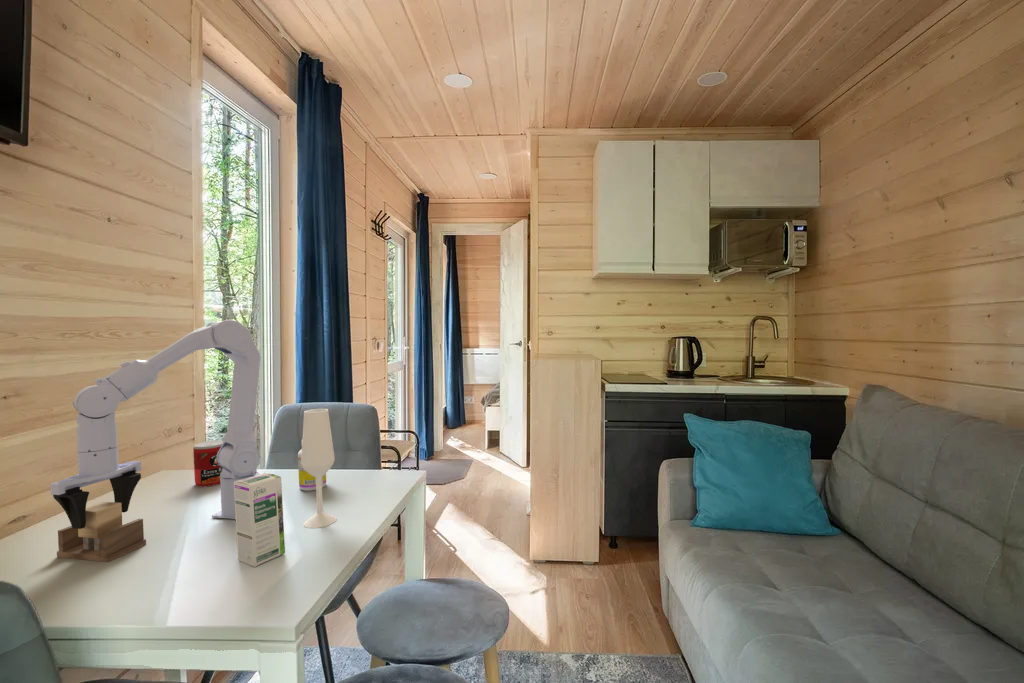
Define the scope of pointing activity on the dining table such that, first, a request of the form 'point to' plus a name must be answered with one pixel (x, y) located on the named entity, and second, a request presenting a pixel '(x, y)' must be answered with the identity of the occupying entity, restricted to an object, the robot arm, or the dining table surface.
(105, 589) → the dining table surface
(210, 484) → the canned food
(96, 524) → the light wooden block
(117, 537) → the stand
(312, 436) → the champagne flute
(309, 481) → the supplement bottle
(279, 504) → the syrup box
